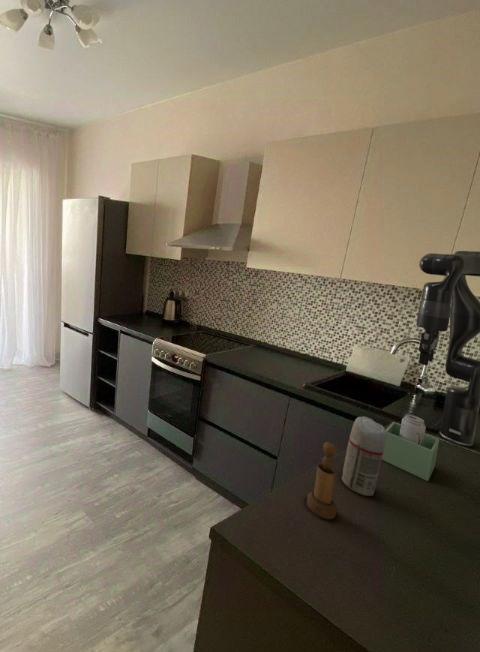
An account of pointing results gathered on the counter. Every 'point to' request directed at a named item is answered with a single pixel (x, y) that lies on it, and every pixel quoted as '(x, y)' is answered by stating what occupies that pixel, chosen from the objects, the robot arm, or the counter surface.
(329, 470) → the mortar and pestle
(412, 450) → the waste bin
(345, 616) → the counter surface
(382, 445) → the spray can
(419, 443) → the energy drink can
